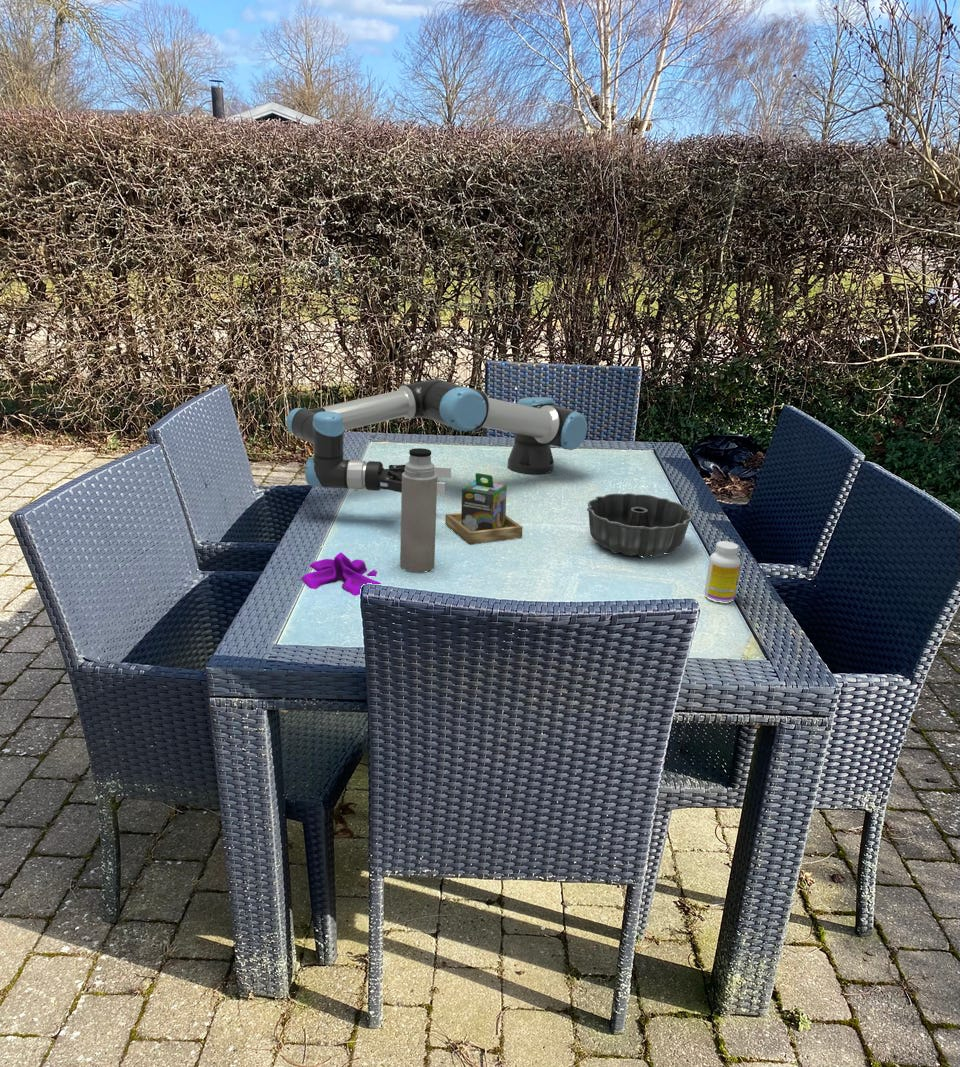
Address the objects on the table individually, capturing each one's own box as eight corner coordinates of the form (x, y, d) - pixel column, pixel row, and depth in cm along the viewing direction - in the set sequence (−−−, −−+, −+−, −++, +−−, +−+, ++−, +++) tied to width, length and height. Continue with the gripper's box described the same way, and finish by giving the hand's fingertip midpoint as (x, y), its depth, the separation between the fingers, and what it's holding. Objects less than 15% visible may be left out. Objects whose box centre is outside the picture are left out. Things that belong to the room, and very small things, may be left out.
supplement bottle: (738, 604, 197) (747, 550, 192) (709, 604, 196) (717, 550, 191) (728, 592, 203) (736, 539, 198) (700, 592, 202) (707, 539, 198)
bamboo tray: (495, 519, 242) (496, 508, 241) (521, 537, 229) (522, 527, 228) (445, 525, 236) (445, 514, 235) (469, 544, 223) (469, 533, 222)
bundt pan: (679, 572, 213) (684, 533, 209) (572, 554, 221) (575, 515, 217) (694, 538, 236) (699, 502, 232) (597, 522, 244) (600, 487, 241)
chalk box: (505, 525, 235) (509, 471, 229) (492, 536, 227) (495, 480, 222) (473, 519, 238) (476, 466, 233) (459, 529, 230) (461, 474, 225)
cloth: (378, 599, 191) (378, 573, 189) (292, 594, 192) (291, 568, 190) (391, 560, 212) (391, 536, 210) (313, 556, 213) (313, 531, 210)
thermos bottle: (408, 557, 213) (410, 443, 203) (439, 563, 211) (443, 448, 201) (394, 569, 206) (396, 451, 196) (426, 575, 204) (430, 456, 194)
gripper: (375, 475, 243) (452, 480, 242) (356, 504, 220) (442, 509, 219) (375, 448, 241) (453, 453, 240) (356, 475, 217) (442, 480, 216)
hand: (448, 480), depth 229 cm, fingers open, 13 cm apart
